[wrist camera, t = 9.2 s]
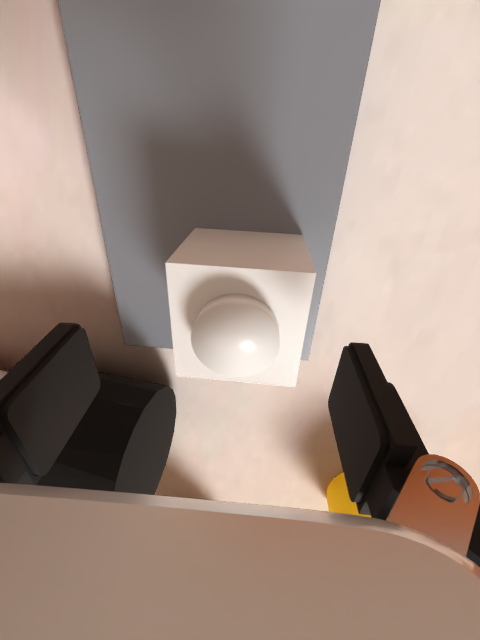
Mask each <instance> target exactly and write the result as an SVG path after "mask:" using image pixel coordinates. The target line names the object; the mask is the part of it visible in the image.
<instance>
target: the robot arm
mask: <svg viewBox="0 0 480 640" xmlns="http://www.w3.org/2000/svg"><path fill="white" fill-rule="evenodd" d="M99 389H100V379H99V375H98V372H97V369H96V365H95V362H94V358H93V355H92V352H91V348H90V345H89V342H88V338H87V335H86V332H85V330H84V328H81V326H80V325H79V324H75V323H59V324H58V325H57V326H56V327H55V328H54V329H53V330H52V331H51V332H50V333H48V334H47V335H46V336H45V337H44V338H43V339H42V340H41V341H40V342H39V343H38V344H37V345H36V346H35V347H34V348H33V349H32V350H31V351H30V352H29V353H28V354H27V355H26V356H25V357H24V358H22V359H21V360H20V361H19V362H18V363H17V364H16V365H15V366H14V367H13V368H12V369H11V370H10V371H9V372H8V373H7V374H6V375H5V376H4V377H3V378H2V379H1V380H0V640H480V492H479V490H478V487H477V485H476V483H475V482H474V480H473V479H472V477H471V476H470V475H469V474H468V473H467V472H466V471H465V470H464V469H463V468H462V467H460V466H459V465H458V464H456V463H455V462H453V461H451V460H449V459H447V458H445V457H442V456H438V455H435V454H428V452H427V450H426V448H425V446H424V444H423V442H422V440H421V438H420V436H419V434H418V432H417V430H416V428H415V426H414V424H413V422H412V420H411V418H410V416H409V414H408V412H407V410H406V408H405V406H404V404H403V402H402V400H401V398H400V397H399V395H398V393H397V391H396V389H395V387H394V386H393V384H391V383H388V382H387V381H386V379H385V376H384V374H383V372H382V370H381V368H380V366H379V364H378V362H377V360H376V358H375V356H374V354H373V352H372V350H371V348H370V346H369V344H366V343H350V344H349V346H345V347H344V348H343V351H342V354H341V358H340V361H339V365H338V368H337V372H336V375H335V379H334V382H333V386H332V389H331V393H330V396H329V401H328V407H329V412H330V416H331V421H332V425H333V429H334V434H335V438H336V442H337V446H338V451H339V455H340V459H341V463H342V468H343V472H344V476H345V481H346V485H347V489H348V493H349V497H350V500H351V501H352V502H356V505H357V509H358V513H359V514H363V515H371V517H364V516H358V515H352V514H345V513H336V512H327V511H318V510H309V509H300V508H290V507H279V506H269V505H258V504H247V503H236V502H226V501H215V500H204V499H192V498H181V497H170V496H158V495H147V494H135V493H124V492H112V491H100V490H88V489H76V488H64V487H52V486H39V485H36V484H37V483H38V481H39V480H40V478H41V476H42V475H46V474H47V473H48V472H49V470H50V469H51V467H52V465H53V464H54V462H55V461H56V459H57V457H58V456H59V454H60V453H61V451H62V449H63V448H64V446H65V445H66V443H67V441H68V440H69V438H70V436H71V435H72V433H73V432H74V430H75V428H76V427H77V425H78V424H79V422H80V420H81V419H82V417H83V416H84V414H85V412H86V411H87V409H88V408H89V406H90V404H91V403H92V401H93V400H94V398H95V396H96V395H97V393H98V391H99ZM17 482H18V484H17Z"/></svg>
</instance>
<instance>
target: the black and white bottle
mask: <svg viewBox="0 0 480 640" xmlns="http://www.w3.org/2000/svg"><path fill="white" fill-rule="evenodd" d="M7 373H8V371H3V370H0V380H1V379H2V378H3V377H4V376H5V375H6V374H7ZM98 375H99V379H100V389H99V391H98V393H97V395H96V396H95V398H94V400H93V401H92V403H91V404H90V406H89V408H88V409H87V411H86V412H85V414H84V416H83V417H82V419H81V420H80V422H79V424H78V425H77V427H76V428H75V430H74V432H73V433H72V435H71V436H70V438H69V440H68V441H67V443H66V445H65V446H64V448H63V449H62V451H61V453H60V454H59V456H58V457H57V459H56V461H55V462H54V464H53V465H52V467H51V469H50V470H49V472H48V473H47V474H46V475H42V476H41V478H40V480H39V481H38V483H37V484H36V485H39V486H52V487H64V488H76V489H88V490H100V491H112V492H124V493H135V494H147V495H154V494H155V491H156V489H157V486H158V484H159V481H160V478H161V476H162V473H163V470H164V468H165V465H166V461H167V458H168V454H169V451H170V447H171V442H172V438H173V433H174V426H175V418H176V398H175V394H174V392H173V389H171V388H170V387H168V386H165V385H160V384H155V383H150V382H145V381H140V380H135V379H130V378H125V377H120V376H115V375H111V374H106V373H101V372H98ZM17 484H18V482H17Z"/></svg>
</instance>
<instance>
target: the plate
mask: <svg viewBox="0 0 480 640" xmlns="http://www.w3.org/2000/svg"><path fill="white" fill-rule="evenodd" d="M380 2H381V0H58V5H59V11H60V16H61V21H62V26H63V31H64V36H65V41H66V46H67V52H68V57H69V62H70V67H71V72H72V77H73V82H74V87H75V93H76V98H77V103H78V108H79V113H80V118H81V123H82V128H83V134H84V139H85V144H86V149H87V154H88V159H89V164H90V169H91V175H92V180H93V185H94V190H95V195H96V200H97V205H98V210H99V216H100V221H101V226H102V231H103V236H104V241H105V246H106V251H107V257H108V262H109V267H110V272H111V277H112V282H113V287H114V292H115V298H116V303H117V308H118V313H119V318H120V323H121V328H122V333H123V339H124V344H125V345H136V346H147V347H159V348H170V349H173V341H172V331H171V320H170V309H169V298H168V288H167V277H166V266H165V262H166V261H167V260H168V259H169V258H170V257H171V255H172V254H173V253H174V252H175V251H176V250H177V248H178V247H179V246H180V245H181V244H182V243H183V242H184V240H185V239H186V238H187V237H188V236H189V235H190V233H191V232H192V231H193V230H194V229H195V228H205V229H221V230H236V231H252V232H267V233H283V234H299V235H303V237H304V240H305V242H306V245H307V248H308V251H309V254H310V257H311V260H312V263H313V265H314V268H315V271H316V277H315V283H314V288H313V294H312V299H311V304H310V310H309V315H308V321H307V326H306V332H305V337H304V342H303V348H302V353H301V359H300V360H308V359H309V354H310V349H311V344H312V339H313V334H314V329H315V324H316V319H317V314H318V309H319V304H320V299H321V294H322V289H323V284H324V279H325V274H326V269H327V264H328V259H329V254H330V249H331V245H332V240H333V235H334V230H335V225H336V220H337V215H338V210H339V205H340V200H341V195H342V190H343V185H344V180H345V175H346V170H347V165H348V160H349V155H350V150H351V145H352V140H353V135H354V130H355V126H356V121H357V116H358V111H359V106H360V101H361V96H362V91H363V86H364V81H365V76H366V71H367V66H368V61H369V56H370V51H371V46H372V41H373V36H374V31H375V26H376V21H377V16H378V11H379V7H380Z"/></svg>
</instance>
